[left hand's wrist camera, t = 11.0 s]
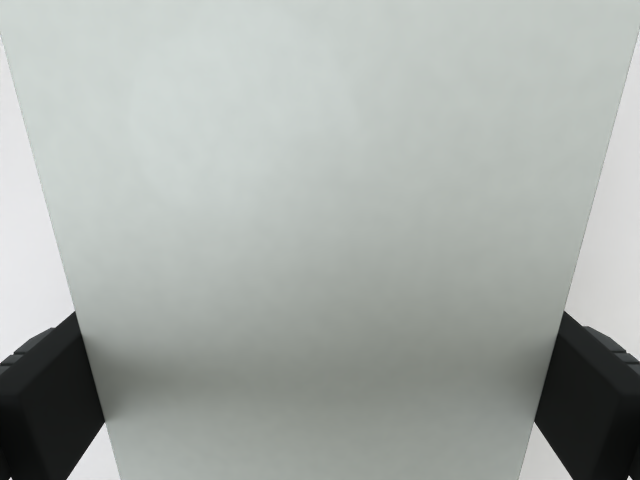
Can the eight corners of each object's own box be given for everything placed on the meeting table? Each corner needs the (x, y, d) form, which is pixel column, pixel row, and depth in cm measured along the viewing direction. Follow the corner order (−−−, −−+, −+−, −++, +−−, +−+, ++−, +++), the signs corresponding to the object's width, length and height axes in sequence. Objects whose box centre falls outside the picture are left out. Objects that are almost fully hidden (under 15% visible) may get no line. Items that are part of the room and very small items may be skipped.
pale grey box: (136, -225, 11) (-273, -961, 3) (501, -225, 11) (907, -953, 3) (208, 339, 18) (127, 510, 11) (430, 338, 18) (510, 509, 11)
